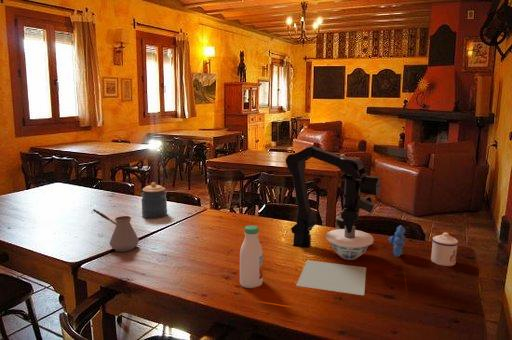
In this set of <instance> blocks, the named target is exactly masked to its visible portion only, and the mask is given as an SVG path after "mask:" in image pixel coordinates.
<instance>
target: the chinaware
mask: <svg viewBox="0 0 512 340" xmlns="http://www.w3.org/2000/svg"><path fill="white" fill-rule="evenodd" d="M330 245H331V247H332V250H333V251H334V252H335V253H336V254H337V255H338V256H339V258H341V259H344V260H349V261H350V260H351V261H352V260H357V258H359V257H361V256H362V255H364V254H365V253H366V251H367V249H368V247H369V246H366V247H358V248H353V247H343V246H339V245H335V244H333V243H331V242H330Z"/></svg>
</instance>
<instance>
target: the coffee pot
mask: <svg viewBox="0 0 512 340" xmlns="http://www.w3.org/2000/svg"><path fill="white" fill-rule="evenodd" d="M90 213H91V214H93V215H94V213H95V214H98V215H99V216H100V217H101V218H104V219H105V220H107V221H109V222H110V223H112V224H114V225H115V227H114V230H113V233H112V236H111V237H110V240H109V245H110V247H111V248H112V249H113V250H115V251H116V252H122V253H124V252H130V251H132V250H134V249H135V247H137V245H138V244H139V242H140V239H139V238H138V236H137V233H136V232H135V230H134V228H133V225H132V224H131V220H132V217H131V216H129V215H122V216H117V217H115V218H114V220H112V219H111V218H109V217H108V216H107V215H106V214H104V213H102V212H100V211H99V210H97V209H95V208H94V209H92V211H91V212H90Z"/></svg>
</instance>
